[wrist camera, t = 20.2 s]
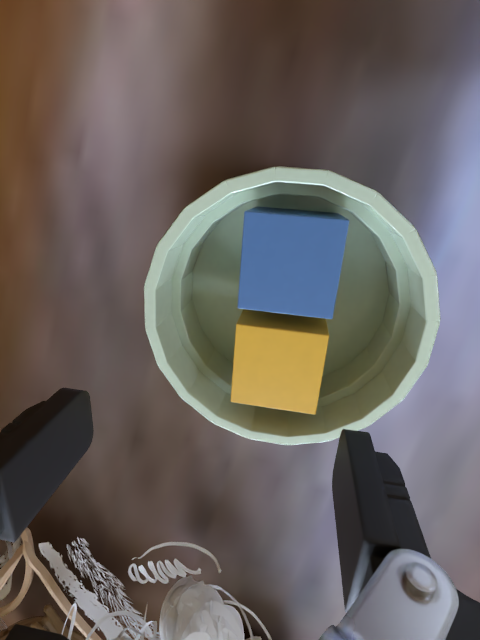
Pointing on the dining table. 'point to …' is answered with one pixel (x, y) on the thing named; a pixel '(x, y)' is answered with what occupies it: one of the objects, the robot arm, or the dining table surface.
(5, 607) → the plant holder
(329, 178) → the bowl
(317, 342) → the mustard cube
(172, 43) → the dining table surface
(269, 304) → the blue cube
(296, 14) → the dining table surface
